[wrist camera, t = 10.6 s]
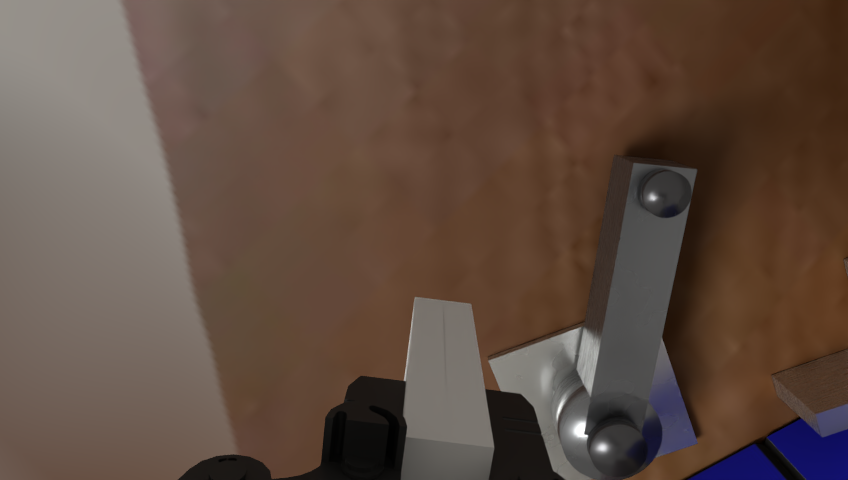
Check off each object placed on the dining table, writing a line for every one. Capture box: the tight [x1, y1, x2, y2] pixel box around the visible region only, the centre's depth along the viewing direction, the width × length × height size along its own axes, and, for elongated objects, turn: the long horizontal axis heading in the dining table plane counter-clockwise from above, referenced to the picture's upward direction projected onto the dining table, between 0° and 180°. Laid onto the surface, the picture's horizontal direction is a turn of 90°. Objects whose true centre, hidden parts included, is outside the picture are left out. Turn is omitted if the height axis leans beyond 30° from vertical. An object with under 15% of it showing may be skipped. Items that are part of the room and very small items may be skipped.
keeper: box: [771, 258, 848, 437], centre depth 27 cm, size 6×6×4 cm
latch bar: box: [550, 155, 697, 480], centre depth 27 cm, size 14×4×4 cm, turn 174°
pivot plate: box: [488, 322, 698, 480], centre depth 28 cm, size 8×8×4 cm
